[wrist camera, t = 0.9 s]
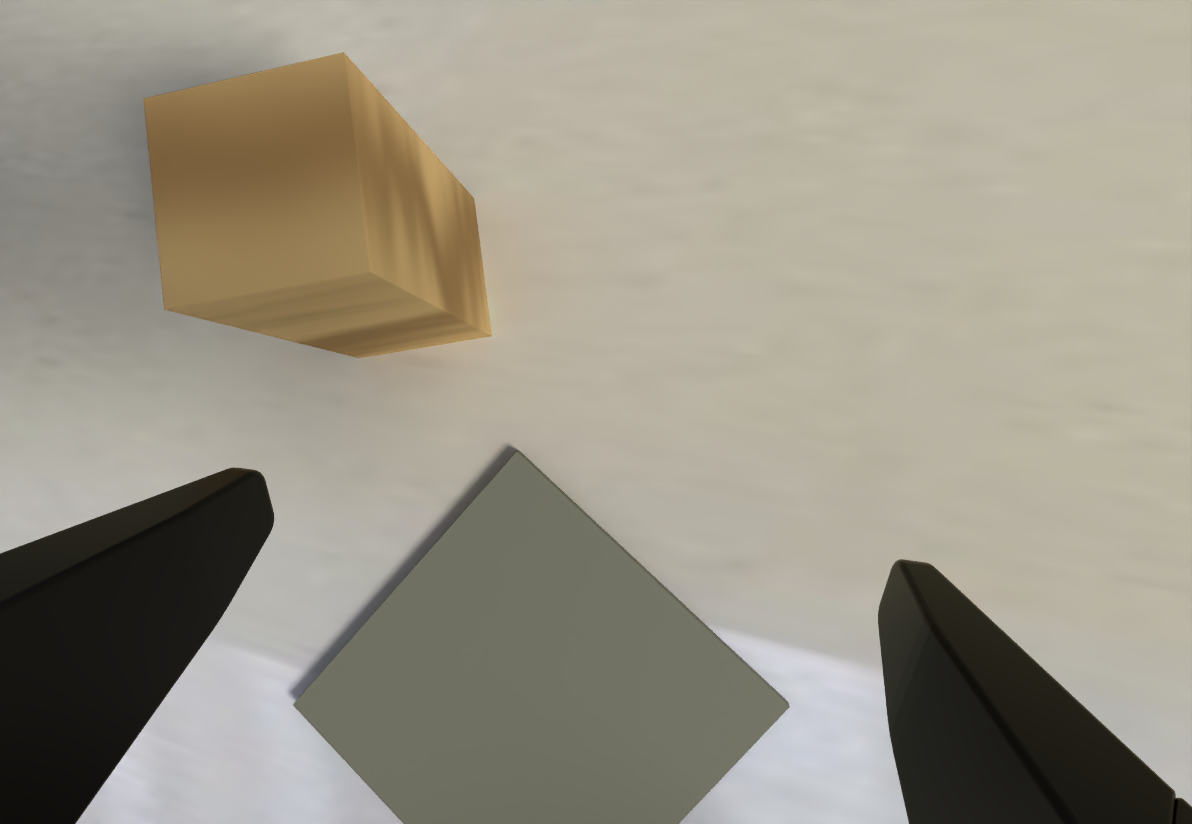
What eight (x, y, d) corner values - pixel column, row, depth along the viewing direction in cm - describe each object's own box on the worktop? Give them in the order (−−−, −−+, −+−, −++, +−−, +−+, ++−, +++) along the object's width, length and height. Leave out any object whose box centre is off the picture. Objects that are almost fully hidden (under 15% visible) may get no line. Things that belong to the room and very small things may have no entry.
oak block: (491, 336, 23) (370, 271, 14) (359, 358, 24) (164, 309, 15) (473, 198, 24) (343, 52, 15) (343, 223, 24) (143, 98, 15)
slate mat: (542, 960, 22) (540, 969, 22) (299, 700, 24) (292, 705, 23) (787, 701, 21) (789, 706, 21) (519, 451, 23) (516, 451, 23)
